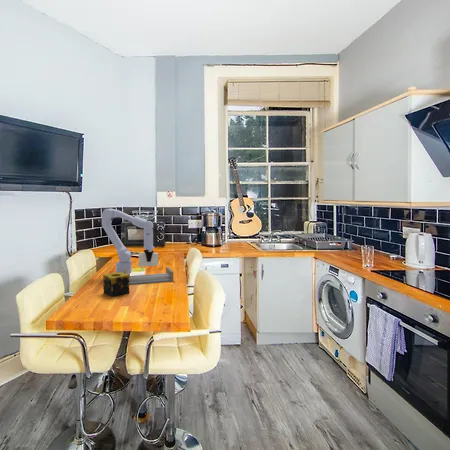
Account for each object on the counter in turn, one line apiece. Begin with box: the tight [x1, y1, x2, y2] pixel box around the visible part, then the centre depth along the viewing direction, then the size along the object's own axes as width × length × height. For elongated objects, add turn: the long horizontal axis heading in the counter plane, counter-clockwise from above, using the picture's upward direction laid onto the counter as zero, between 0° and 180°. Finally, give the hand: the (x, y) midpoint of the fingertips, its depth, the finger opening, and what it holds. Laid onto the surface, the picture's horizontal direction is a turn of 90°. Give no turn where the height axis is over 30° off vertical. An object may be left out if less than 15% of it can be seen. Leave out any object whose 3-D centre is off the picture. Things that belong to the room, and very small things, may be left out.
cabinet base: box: [124, 266, 174, 286], centre depth 203 cm, size 27×14×6 cm, turn 112°
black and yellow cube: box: [102, 271, 130, 298], centre depth 176 cm, size 10×10×10 cm
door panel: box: [138, 252, 159, 268], centre depth 215 cm, size 12×2×8 cm, turn 112°
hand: (148, 261), depth 215 cm, fingers closed on door panel, 2 cm apart
